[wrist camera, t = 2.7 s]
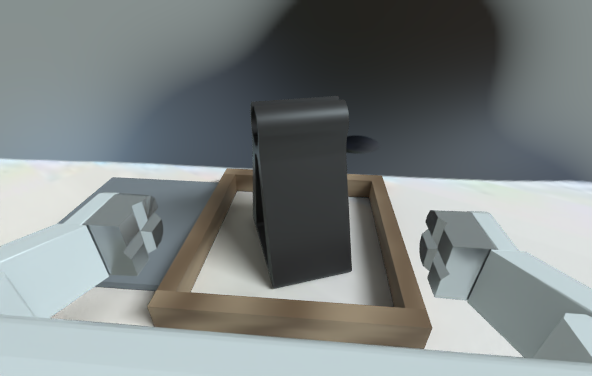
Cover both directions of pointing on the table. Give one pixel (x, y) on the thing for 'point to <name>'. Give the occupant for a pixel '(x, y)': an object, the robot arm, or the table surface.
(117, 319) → the table surface
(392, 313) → the walnut frame
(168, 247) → the charcoal mat
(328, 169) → the phone stand
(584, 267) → the table surface
